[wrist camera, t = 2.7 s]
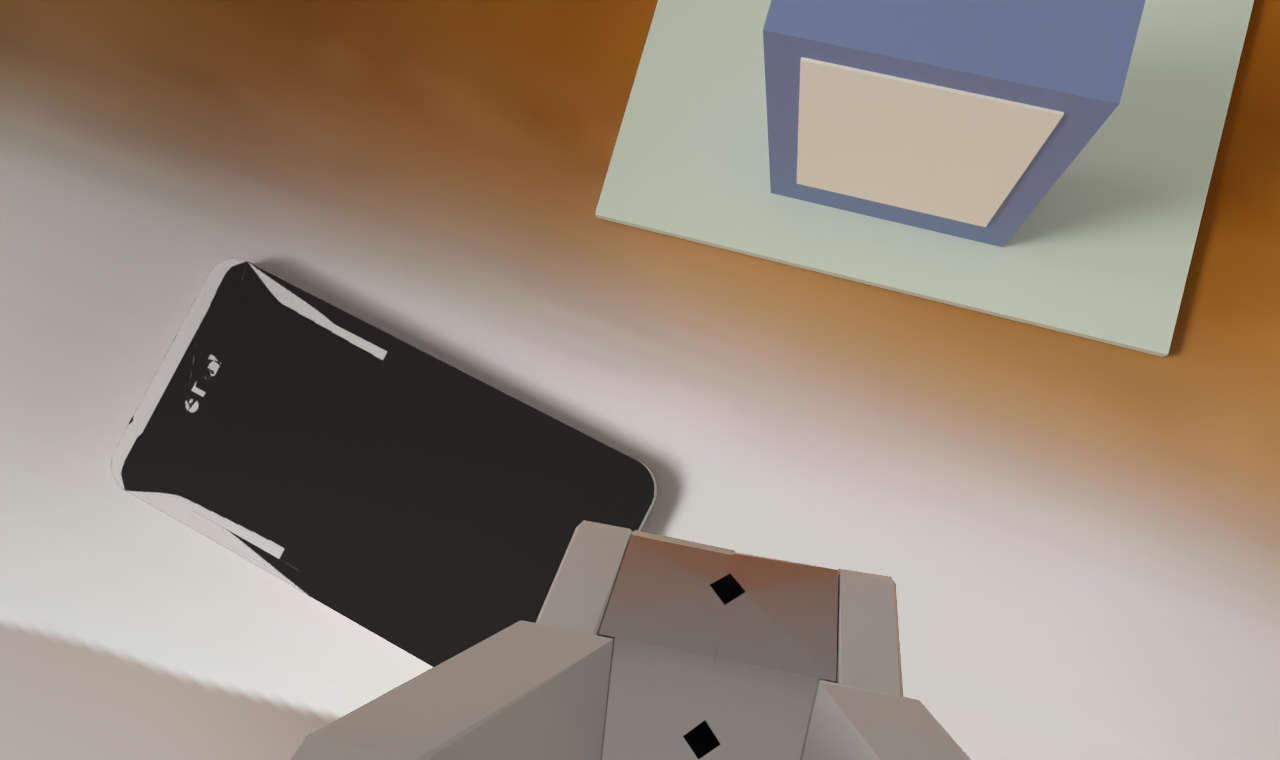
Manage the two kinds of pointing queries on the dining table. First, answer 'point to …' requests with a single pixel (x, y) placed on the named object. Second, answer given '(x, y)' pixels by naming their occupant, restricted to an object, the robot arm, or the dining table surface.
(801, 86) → the box
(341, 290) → the dining table surface
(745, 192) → the mat
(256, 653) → the dining table surface
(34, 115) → the dining table surface
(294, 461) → the smartphone
